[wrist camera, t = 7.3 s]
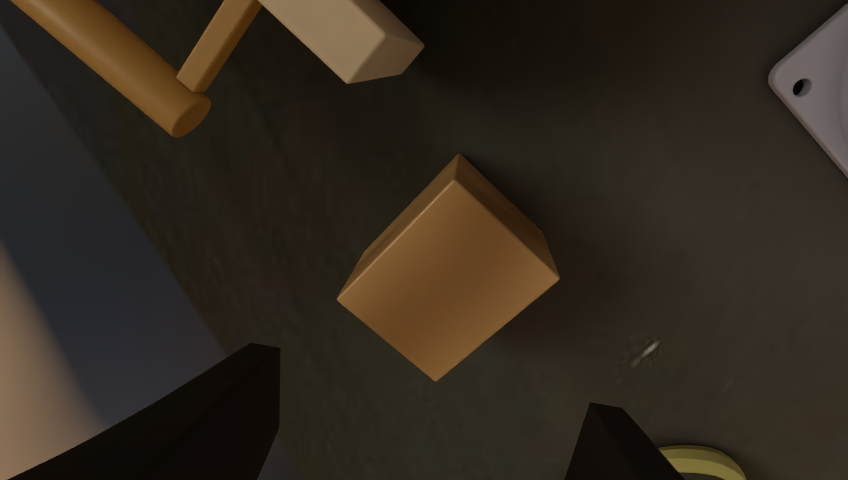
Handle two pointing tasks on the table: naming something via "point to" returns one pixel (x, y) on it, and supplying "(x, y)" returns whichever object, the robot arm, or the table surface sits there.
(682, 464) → the key
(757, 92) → the table surface
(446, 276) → the brown wooden block
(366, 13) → the drawer
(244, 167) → the table surface
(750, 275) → the table surface
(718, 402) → the table surface
